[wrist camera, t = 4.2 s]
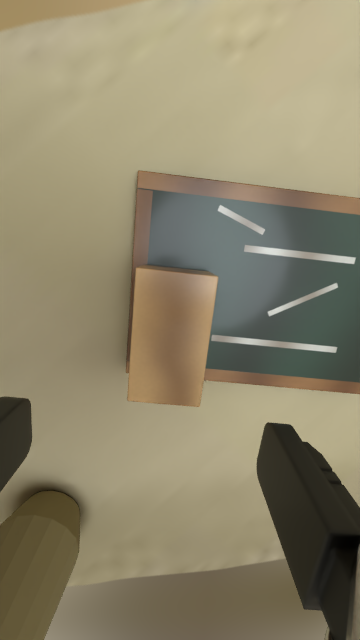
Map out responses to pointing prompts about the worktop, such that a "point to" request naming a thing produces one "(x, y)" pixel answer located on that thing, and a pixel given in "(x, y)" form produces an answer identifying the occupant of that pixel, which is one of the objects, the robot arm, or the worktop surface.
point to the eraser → (170, 334)
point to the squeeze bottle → (36, 563)
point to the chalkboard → (262, 276)
